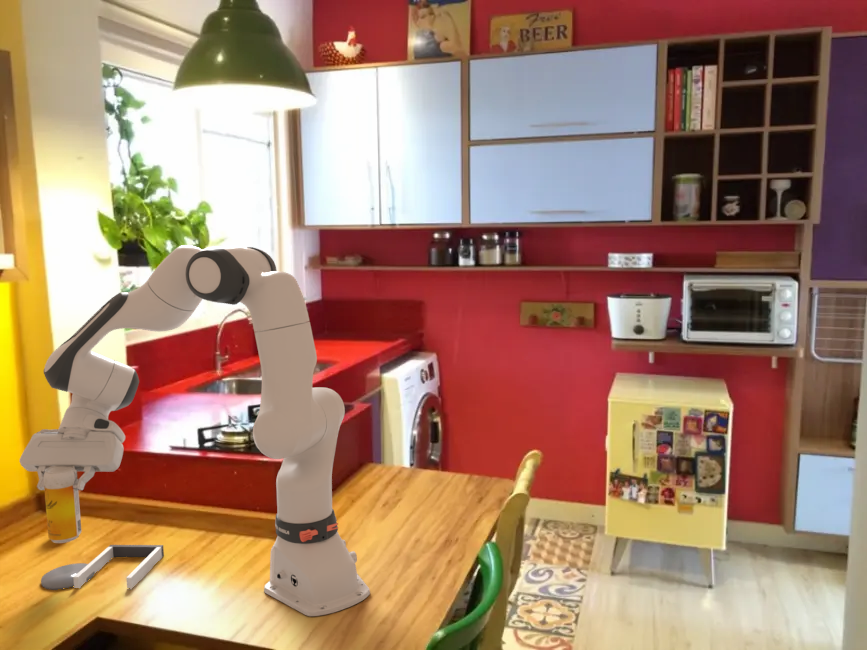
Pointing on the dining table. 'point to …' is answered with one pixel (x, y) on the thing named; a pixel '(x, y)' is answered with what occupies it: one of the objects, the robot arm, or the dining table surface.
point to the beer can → (62, 504)
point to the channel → (148, 551)
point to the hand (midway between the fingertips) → (59, 489)
